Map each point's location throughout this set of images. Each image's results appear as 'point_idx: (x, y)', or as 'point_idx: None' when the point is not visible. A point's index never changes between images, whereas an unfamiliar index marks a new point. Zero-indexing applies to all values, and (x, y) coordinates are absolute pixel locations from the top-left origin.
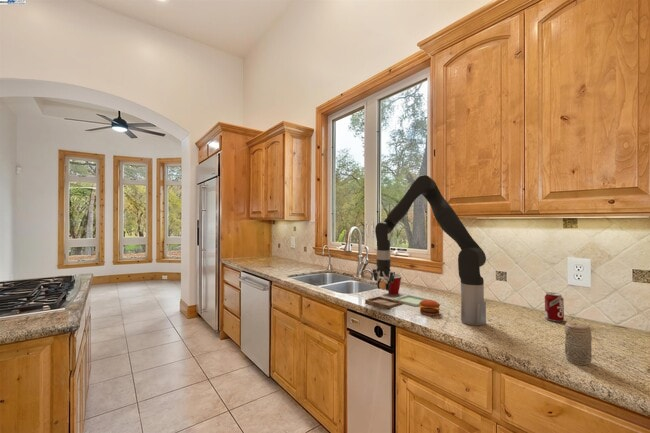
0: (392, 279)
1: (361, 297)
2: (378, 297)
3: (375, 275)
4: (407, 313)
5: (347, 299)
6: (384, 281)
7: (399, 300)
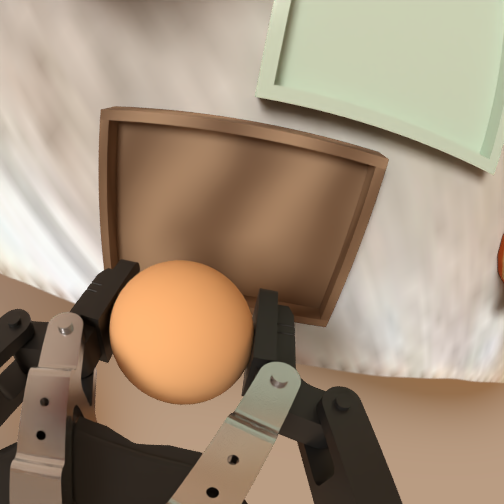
0: (352, 444)
1: (15, 162)
2: (111, 132)
3: (11, 408)
4: (438, 308)
5: (15, 257)
6: (195, 399)
7: (341, 115)
